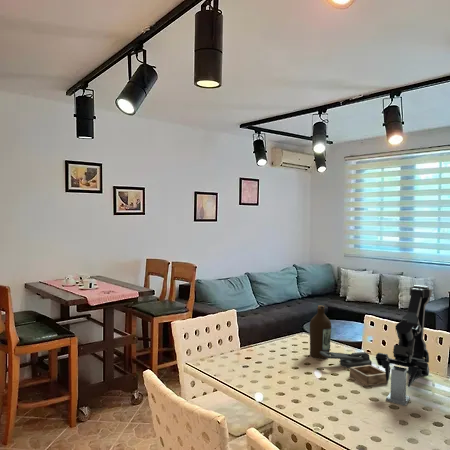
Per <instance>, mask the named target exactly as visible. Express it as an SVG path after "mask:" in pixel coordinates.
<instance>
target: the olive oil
mask: <svg viewBox="0 0 450 450" xmlns="http://www.w3.org/2000/svg"><path fill="white" fill-rule="evenodd" d="M331 337H332V323H331V319H330V318H329V317H327V315H326V314H325V306H324V305H321V304H320V305H319V304H318V306H317V312H316V314H314V315H313V317H312V318H311V319H310V321H309V356H310V357H312V358H315V359H320V360H324V359H325V360H326V359H328V358H327V357H325V356H323V355H321V354H320V351H324V352H331V351H330V350H331Z"/></svg>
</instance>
